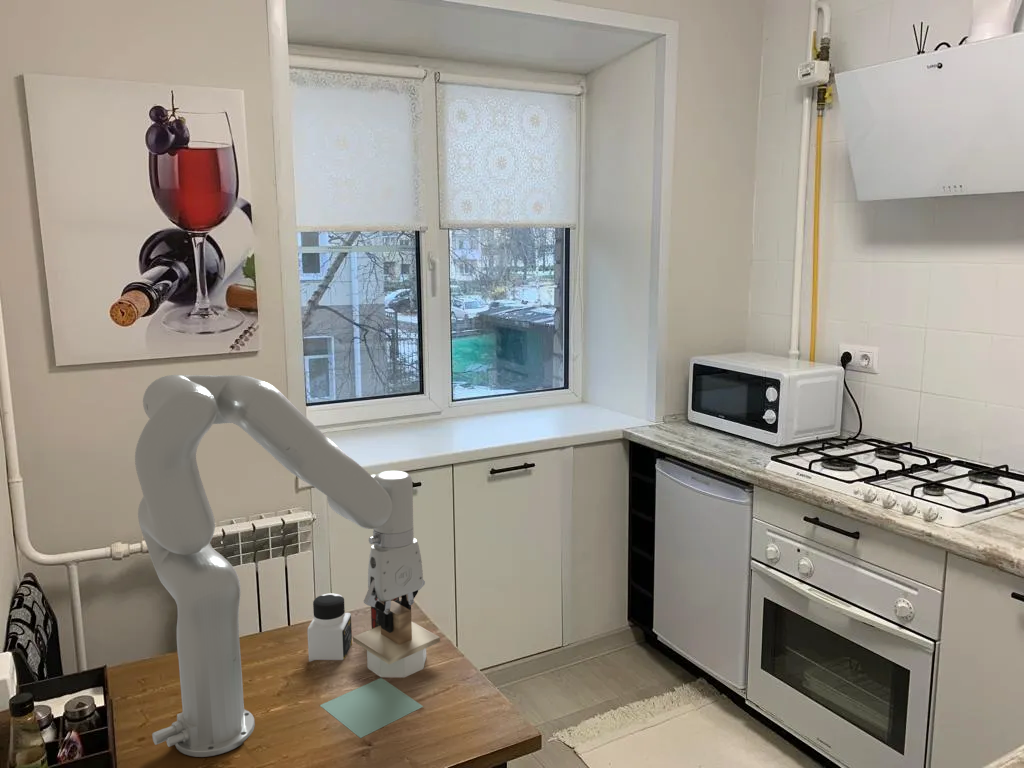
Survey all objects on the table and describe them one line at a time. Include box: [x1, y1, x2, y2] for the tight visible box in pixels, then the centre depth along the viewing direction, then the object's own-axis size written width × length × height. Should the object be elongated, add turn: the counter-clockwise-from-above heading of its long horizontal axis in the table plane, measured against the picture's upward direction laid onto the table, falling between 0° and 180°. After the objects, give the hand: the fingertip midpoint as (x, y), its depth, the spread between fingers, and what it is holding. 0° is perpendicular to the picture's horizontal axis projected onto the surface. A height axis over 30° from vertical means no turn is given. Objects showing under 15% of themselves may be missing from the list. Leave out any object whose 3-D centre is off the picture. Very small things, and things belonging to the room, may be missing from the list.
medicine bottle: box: [306, 592, 353, 663], centre depth 156 cm, size 7×7×12 cm
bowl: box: [366, 648, 427, 678], centre depth 152 cm, size 11×11×5 cm
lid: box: [352, 601, 441, 664], centre depth 151 cm, size 12×12×7 cm
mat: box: [319, 677, 424, 739], centre depth 138 cm, size 13×13×1 cm
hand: (396, 625), depth 151 cm, fingers open, 3 cm apart
